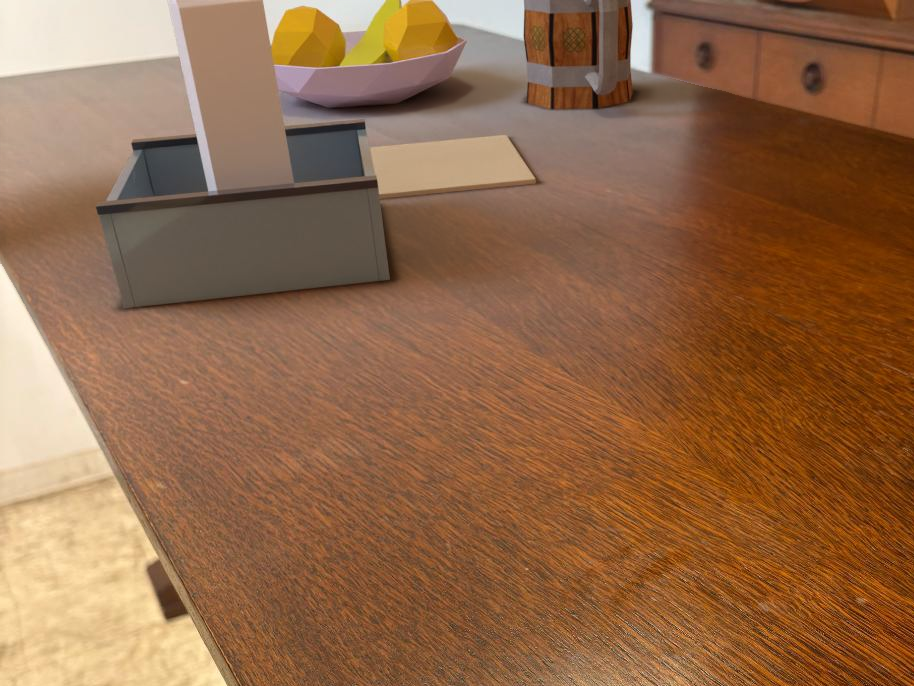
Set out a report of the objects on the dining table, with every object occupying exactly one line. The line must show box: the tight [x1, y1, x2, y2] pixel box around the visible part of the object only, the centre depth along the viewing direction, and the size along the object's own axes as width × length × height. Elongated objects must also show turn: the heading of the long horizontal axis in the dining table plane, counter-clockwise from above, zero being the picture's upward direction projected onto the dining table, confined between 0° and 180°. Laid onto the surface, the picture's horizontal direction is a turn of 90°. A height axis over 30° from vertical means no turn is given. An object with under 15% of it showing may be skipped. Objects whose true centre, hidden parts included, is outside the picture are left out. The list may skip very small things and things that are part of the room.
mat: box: [370, 134, 537, 200], centre depth 108 cm, size 20×18×1 cm
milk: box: [166, 0, 294, 191], centre depth 83 cm, size 6×6×22 cm
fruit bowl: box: [271, 0, 468, 109], centre depth 137 cm, size 28×27×11 cm
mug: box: [523, 0, 634, 110], centre depth 126 cm, size 20×14×15 cm
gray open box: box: [95, 118, 391, 309], centre depth 87 cm, size 20×20×8 cm
